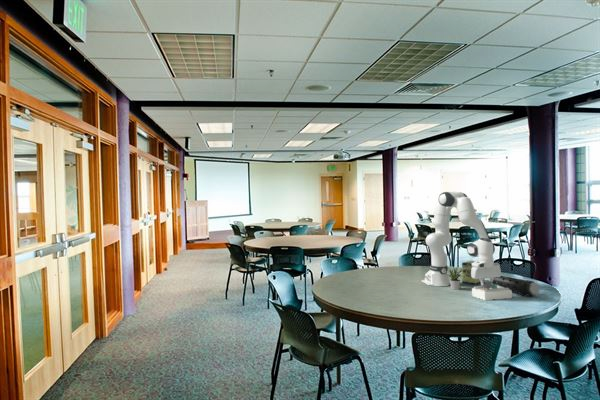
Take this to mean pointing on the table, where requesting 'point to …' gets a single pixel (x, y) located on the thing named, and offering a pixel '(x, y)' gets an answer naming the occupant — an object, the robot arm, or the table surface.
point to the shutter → (496, 286)
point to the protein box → (468, 274)
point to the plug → (487, 285)
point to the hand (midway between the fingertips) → (486, 284)
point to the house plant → (455, 279)
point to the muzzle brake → (517, 285)
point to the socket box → (491, 293)
